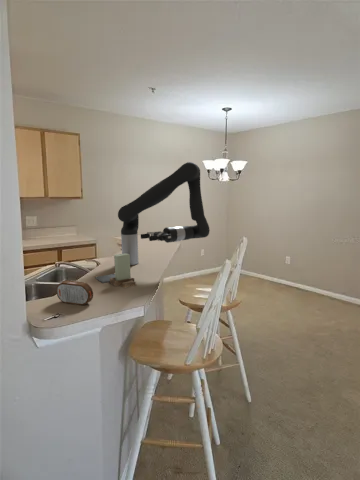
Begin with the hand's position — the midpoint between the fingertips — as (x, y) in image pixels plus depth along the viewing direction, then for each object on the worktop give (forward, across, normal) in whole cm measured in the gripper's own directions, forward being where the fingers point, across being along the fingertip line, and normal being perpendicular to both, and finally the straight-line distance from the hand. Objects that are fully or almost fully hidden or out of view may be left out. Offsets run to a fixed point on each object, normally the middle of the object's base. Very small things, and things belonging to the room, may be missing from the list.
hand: (145, 237), depth 149 cm
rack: (+12, 0, +20) cm, 23 cm away
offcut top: (+12, +6, +19) cm, 23 cm away
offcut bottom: (+12, +6, +20) cm, 24 cm away
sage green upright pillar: (+12, 0, +20) cm, 23 cm away
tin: (+38, +14, +20) cm, 45 cm away
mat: (+13, -10, +20) cm, 25 cm away
